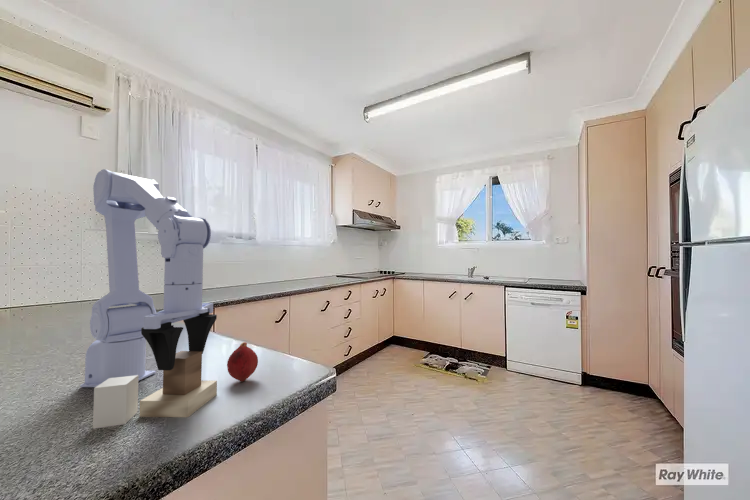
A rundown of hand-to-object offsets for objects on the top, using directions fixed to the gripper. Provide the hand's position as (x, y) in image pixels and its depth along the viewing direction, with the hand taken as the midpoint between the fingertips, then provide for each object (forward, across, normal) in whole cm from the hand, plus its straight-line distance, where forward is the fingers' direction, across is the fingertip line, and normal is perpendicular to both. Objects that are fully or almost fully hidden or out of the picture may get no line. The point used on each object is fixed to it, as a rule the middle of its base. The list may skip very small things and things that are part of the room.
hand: (182, 361), depth 51 cm
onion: (+8, +10, -6) cm, 14 cm away
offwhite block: (+8, -5, +7) cm, 11 cm away
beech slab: (+8, 0, 0) cm, 8 cm away
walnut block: (+5, 0, 0) cm, 5 cm away
